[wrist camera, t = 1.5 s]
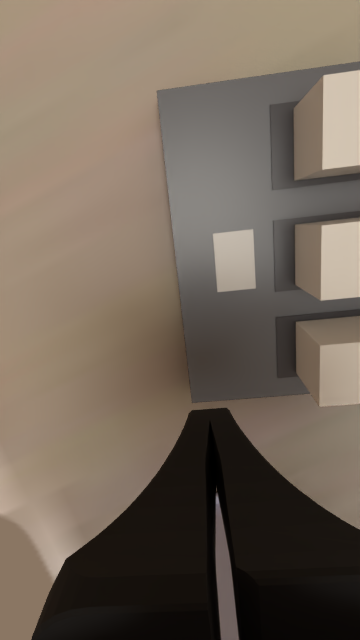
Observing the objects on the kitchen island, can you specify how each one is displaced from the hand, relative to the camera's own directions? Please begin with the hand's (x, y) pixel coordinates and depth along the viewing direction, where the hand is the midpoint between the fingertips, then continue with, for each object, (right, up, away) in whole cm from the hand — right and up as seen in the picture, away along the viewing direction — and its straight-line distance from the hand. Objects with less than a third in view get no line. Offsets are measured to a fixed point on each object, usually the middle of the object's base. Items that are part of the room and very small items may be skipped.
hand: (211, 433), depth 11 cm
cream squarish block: (+6, +12, +3) cm, 14 cm away
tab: (+7, +7, +5) cm, 11 cm away
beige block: (+7, +3, +6) cm, 10 cm away
